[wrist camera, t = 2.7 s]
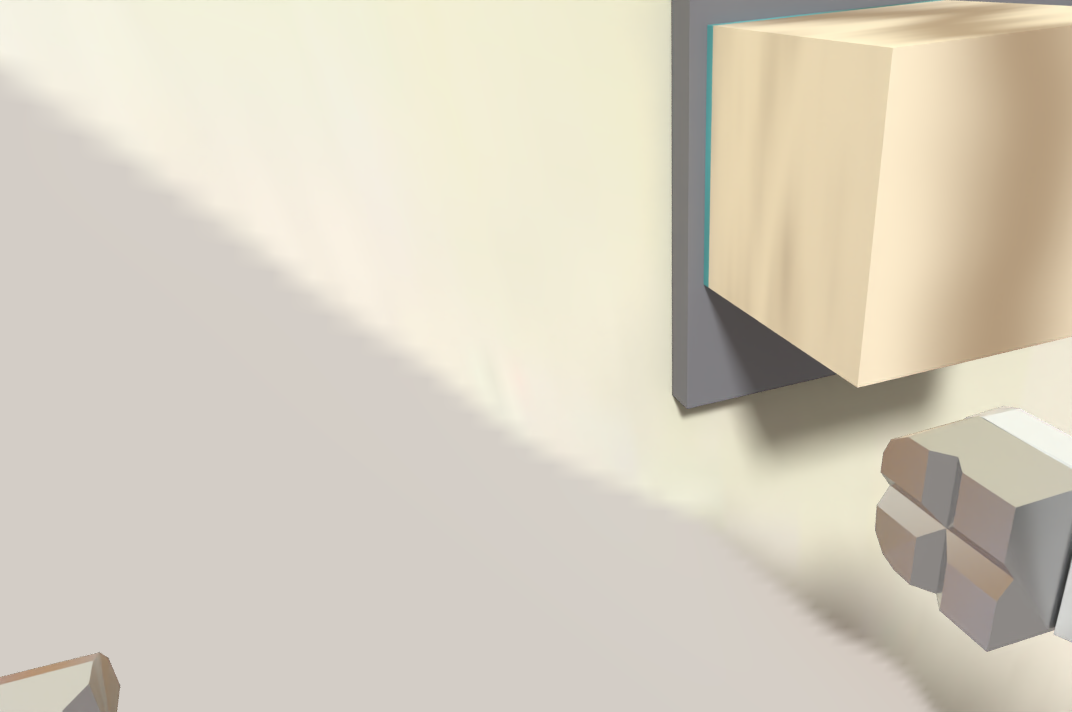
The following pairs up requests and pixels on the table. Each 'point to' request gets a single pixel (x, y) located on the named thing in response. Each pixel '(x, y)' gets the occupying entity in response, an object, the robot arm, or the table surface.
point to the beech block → (894, 181)
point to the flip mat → (697, 311)
